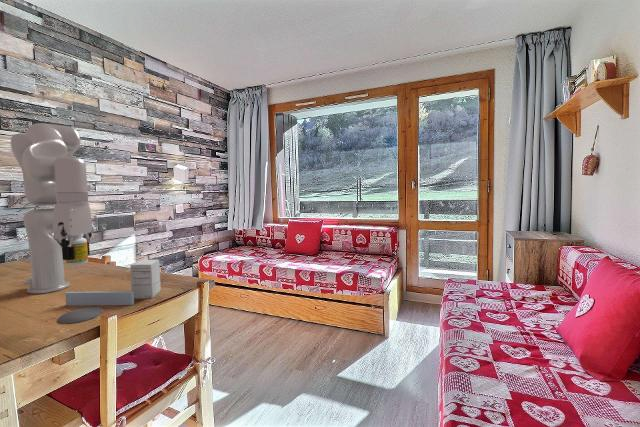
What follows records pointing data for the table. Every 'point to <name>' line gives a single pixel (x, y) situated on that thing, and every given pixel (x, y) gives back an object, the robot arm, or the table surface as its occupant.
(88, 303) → the acrylic wall
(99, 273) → the table surface
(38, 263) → the robot arm
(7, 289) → the table surface
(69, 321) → the mat
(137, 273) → the supplement box
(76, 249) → the supplement bottle
